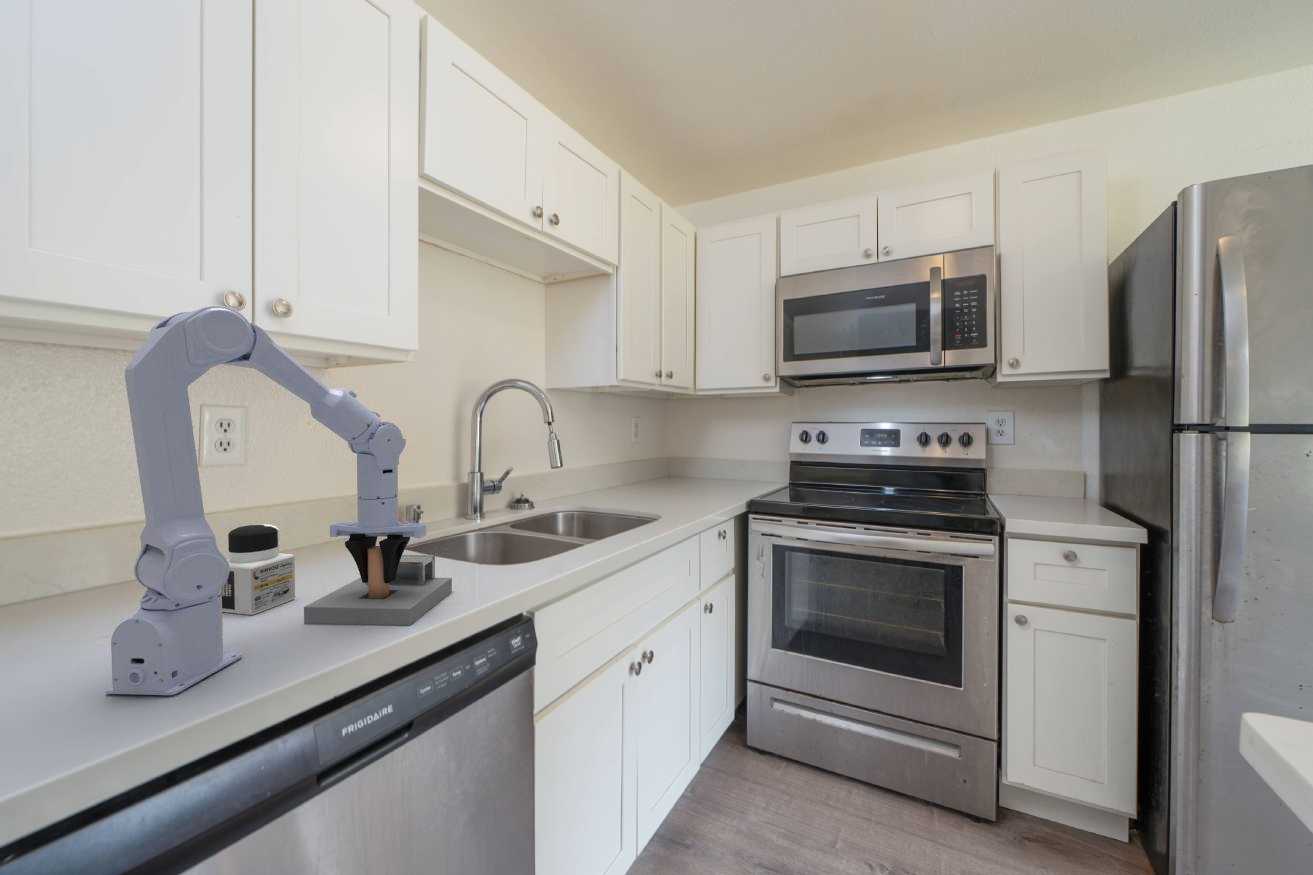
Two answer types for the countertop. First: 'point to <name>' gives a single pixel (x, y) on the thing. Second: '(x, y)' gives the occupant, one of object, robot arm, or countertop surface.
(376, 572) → the peg
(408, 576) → the grey bridge
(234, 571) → the container
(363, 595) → the socket board
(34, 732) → the countertop surface
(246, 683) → the countertop surface
